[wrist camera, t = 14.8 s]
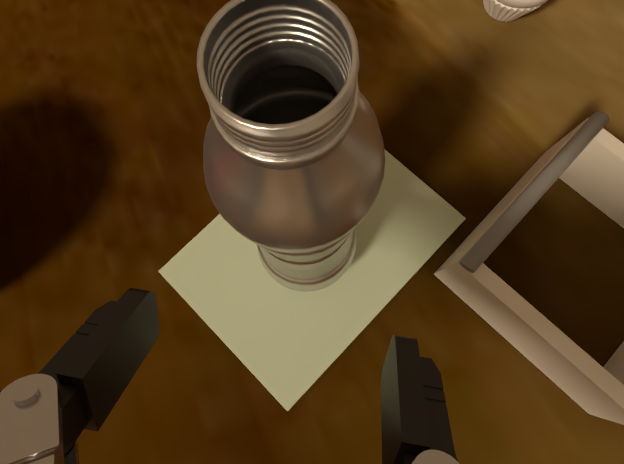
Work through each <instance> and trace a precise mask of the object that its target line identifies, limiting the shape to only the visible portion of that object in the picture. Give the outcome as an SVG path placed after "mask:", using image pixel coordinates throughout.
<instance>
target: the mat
mask: <svg viewBox="0 0 624 464" xmlns="http://www.w3.org/2000/svg"><path fill="white" fill-rule="evenodd" d="M384 151H385V169H384V177H383V181H382V184H381V187H380V190H379V193H378V195H377V197H376V199H375V201H374V202H373V204H372V206H371V208H370V210H369V211H368V213H367V214H366V216H365V217H364V218H363V220H362V221H361V222H360V223H359V224H358V225H357V227H356V228H355V229H356V239H357V243H356V251H355V254H354V258H353V261H352V263H351V264H350V266H349V268H348V270H347V271H346V272H345V273H344V274H343V276H342V277H341V278H340V279H338V280H337V281H336V282H335V283H333V284H332V285H330V286H328V287H326V288H323V289H320V290H316V291H307V292H303V291H296V290H292V289H289V288H287V287H284V286H283V285H281V284H279V283H278V282H276V281H275V280H274V279H273V278H272V277H271V276H270V275H269V274H268V273H267V271H266V270H265V268H264V267H263V265H262V263H261V260H260V258H259V254H258V249H257V245H256V244H255V243H253V242H251V241H250V240H248V239H247V238H245V237H243V236H242V235H241V234H240V233H239V232H237V231H236V230H235V229H234V228H233V227H232V226H231V225H230V224H229V223H228V222H227V221H225V220H224V219H223V217H222V216H221V214H219V215H218V216H217V217H216V218H215V219H214V220H213V221H212V222H211V223H209V224H208V225H207V226H206V227H205V228H204V229H203V230H202V231H201V232H200V233H199V234H198V235H197V236H196V237H194V238H193V239H192V240H191V241H190V242H189V243H188V244H187V245H186V246H185V247H184V248H183V249H182V250H181V251H179V252H178V253H177V254H176V255H175V256H174V257H173V258H172V259H171V260H170V261H169V262H168V263H167V264H166V265H165V266H163V267H162V268H161V269H160V270H159V271H158V272H159V273H160V274H161V275H162V276H163V277H164V278H165V279H166V280H167V281H168V282H169V284H170V285H171V286H172V287H173V288H174V289H175V290H176V291H177V292H178V293H179V294H180V295H181V297H182V298H183V299H184V300H185V301H186V302H187V303H188V304H189V305H190V306H191V307H192V308H193V310H194V311H195V312H196V313H197V314H198V315H199V316H200V317H201V318H202V319H203V320H204V321H205V323H206V324H207V325H208V326H209V327H210V328H211V329H212V330H213V331H214V332H215V333H216V335H217V336H218V337H219V338H220V339H221V340H222V341H223V342H224V343H225V344H226V345H227V346H228V348H229V349H230V350H231V351H232V352H233V353H234V354H235V355H236V356H237V357H238V358H239V359H240V361H241V362H242V363H243V364H244V365H245V366H246V367H247V368H248V369H249V370H250V371H251V372H252V374H253V375H254V376H255V377H256V378H257V379H258V380H259V381H260V382H261V383H262V384H263V385H264V387H265V388H266V389H267V390H268V391H269V392H270V393H271V394H272V395H273V396H274V397H275V399H276V400H277V401H278V402H279V403H280V404H281V405H282V406H283V407H284V408H285V409H286V410H287V411H288V410H289V409H290V408H291V407H292V406H293V405H294V404H295V403H296V402H297V401H298V399H299V398H300V397H301V396H302V395H303V394H304V393H305V392H306V391H307V390H308V389H309V388H310V387H311V385H312V384H313V383H314V382H315V381H316V380H317V379H318V378H319V377H320V376H321V375H322V374H323V372H324V371H325V370H326V369H327V368H328V367H329V366H330V365H331V364H332V363H333V362H334V361H335V359H336V358H337V357H338V356H339V355H340V354H341V353H342V352H343V351H344V350H345V349H346V348H347V347H348V345H349V344H350V343H351V342H352V341H353V340H354V339H355V338H356V337H357V336H358V335H359V334H360V332H361V331H362V330H363V329H364V328H365V327H366V326H367V325H368V324H369V323H370V322H371V321H372V319H373V318H374V317H375V316H376V315H377V314H378V313H379V312H380V311H381V310H382V309H383V308H384V306H385V305H386V304H387V303H388V302H389V301H390V300H391V299H392V298H393V297H394V296H395V295H396V294H397V292H398V291H399V290H400V289H401V288H402V287H403V286H404V285H405V284H406V283H407V282H408V281H409V279H410V278H411V277H412V276H413V275H414V274H415V273H416V272H417V271H418V270H419V269H420V268H421V266H422V265H423V264H424V263H425V262H426V261H427V260H428V259H429V258H430V257H431V256H432V255H433V253H434V252H435V251H436V250H437V249H438V248H439V247H440V246H441V245H442V244H443V243H444V242H445V241H446V239H447V238H448V237H449V236H450V235H451V234H452V233H453V232H454V231H455V230H456V229H457V228H458V226H459V225H460V224H461V223H462V222H463V221H464V220H465V219H466V218H465V217H464V216H463V215H461V214H460V213H459V212H458V211H457V210H456V209H454V208H453V207H452V206H451V205H450V204H449V203H447V202H446V201H445V200H444V199H443V198H441V197H440V196H439V195H438V194H437V193H436V192H434V191H433V190H432V189H431V188H430V187H429V186H427V185H426V184H425V183H424V182H423V181H421V180H420V179H419V178H418V177H417V176H416V175H414V174H413V173H412V172H411V171H410V170H409V169H407V168H406V167H405V166H404V165H403V164H401V163H400V162H399V161H398V160H397V159H396V158H394V157H393V156H392V155H391V154H390V153H389V152H387V151H386V150H385V149H384Z"/></svg>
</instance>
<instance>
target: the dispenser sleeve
mask: <svg viewBox="0 0 624 464" xmlns="http://www.w3.org/2000/svg"><path fill="white" fill-rule="evenodd" d="M608 122H609V117H608V115H607V114H605V113H603V112H595V113H593V114H592V115H591V116H590V118H587V119H586V120H584V121H583V122H582V123H581V124H579V125H578V126H577V127H576V128H574V129H573V130H572V131H571V132H569V133H568V134H567V135H566V136H564V137H563V138H562V139H561V140H559V141H558V142H557V143H556V144H554V145H553V146H552V147H551V148H549V149H548V150H547V151H546V152H545V153H544V154H543V155H542V156H541V157H540V158H539V159H538V160H537V161H536V162H535V164H534V165H533V166H532V167H531V168H530V169H529V170H528V171H527V172H526V173H525V174H524V176H523V177H522V178H521V179H520V180H519V181H518V182H517V183H516V184H515V185H514V187H513V188H512V189H511V190H510V191H509V192H508V193H507V194H506V195H505V196H504V197H503V199H502V200H501V201H500V202H499V203H498V204H497V205H496V206H495V207H494V208H493V210H492V211H491V212H490V213H489V214H488V215H487V216H486V217H485V218H484V219H483V220H482V222H481V223H480V224H479V225H478V226H477V227H476V228H475V229H474V230H473V231H472V232H471V234H470V235H469V236H468V237H467V238H466V239H465V240H464V241H463V242H462V243H461V245H460V246H459V247H458V248H457V249H456V250H455V251H454V252H453V253H452V254H451V255H450V257H449V258H448V259H447V260H446V261H445V262H444V263H443V264H442V265H441V266H440V267H439V269H438V270H437V271H436V272H435V273H434V275H435V276H436V277H437V278H438V279H440V280H441V281H442V282H443V283H444V284H445V285H446V286H447V287H448V288H450V289H451V290H452V291H453V292H454V293H455V294H456V295H457V296H458V297H460V298H461V299H462V300H463V301H464V302H465V303H466V304H467V305H468V306H470V307H471V308H472V309H473V310H474V311H475V312H476V313H477V314H478V315H479V316H481V317H482V318H483V319H484V320H485V321H486V322H487V323H488V324H489V325H491V326H492V327H493V328H494V329H495V330H496V331H497V332H498V333H499V334H501V335H502V336H503V337H504V338H505V339H506V340H507V341H508V342H509V343H511V344H512V345H513V346H514V347H515V348H516V349H517V350H518V351H519V352H521V353H522V354H523V355H524V356H525V357H526V358H527V359H528V360H529V361H531V362H532V363H533V364H534V365H535V366H536V367H537V368H538V369H539V370H541V371H542V372H543V373H544V374H545V375H546V376H547V377H548V378H549V379H550V380H552V381H553V382H554V383H555V384H556V385H557V386H558V387H559V388H560V389H562V390H563V391H564V392H565V393H566V394H567V395H568V396H569V397H570V398H572V399H573V400H574V401H575V402H576V403H577V404H578V405H579V406H580V407H582V408H583V409H584V410H585V411H586V412H587V413H588V414H590V415H594V416H597V417H600V418H603V419H606V420H609V421H613V422H616V423H619V424H622V425H624V341H623V342H622V344H621V345H620V346H619V347H618V349H617V350H616V351H615V353H614V354H613V355H612V356H611V358H610V359H609V360H608V362H607V363H606V364H605V365H604V367H602V366H601V365H600V364H599V363H598V362H596V361H595V360H594V359H593V358H592V357H591V356H589V355H588V354H587V353H586V352H585V351H584V350H583V349H581V348H580V347H579V346H578V345H577V344H576V343H574V342H573V341H572V340H571V339H570V338H569V337H568V336H566V335H565V334H564V333H563V332H562V331H561V330H560V329H558V328H557V327H556V326H555V325H554V324H553V323H551V322H550V321H549V320H548V319H547V318H546V317H545V316H543V315H542V314H541V313H540V312H539V311H538V310H536V309H535V308H534V307H533V306H532V305H531V304H530V303H528V302H527V301H526V300H525V299H524V298H523V297H521V296H520V295H519V294H518V293H517V292H516V291H515V290H513V289H512V288H511V287H510V286H509V285H508V284H507V283H505V282H504V281H503V280H502V279H501V278H500V277H498V276H497V275H496V274H495V273H494V272H493V271H492V270H490V269H489V268H488V267H487V266H486V265H485V264H483V262H484V261H485V260H486V259H487V258H488V257H489V255H490V254H491V253H492V252H493V251H494V250H495V249H496V248H497V246H498V245H499V244H500V243H501V242H502V241H503V240H504V239H505V237H506V236H507V235H508V234H509V233H510V232H511V231H512V230H513V228H514V227H515V226H516V225H517V224H518V223H519V222H520V221H521V220H522V218H523V217H524V216H525V215H526V214H527V213H528V212H529V211H530V209H531V208H532V207H533V206H534V205H535V204H536V203H537V202H538V200H539V199H540V198H541V197H542V196H543V195H544V194H545V193H546V191H547V190H548V189H549V188H550V187H551V186H552V185H553V184H554V183H555V181H556V180H557V179H558V178H560V179H561V180H562V181H563V182H565V183H566V184H567V185H568V186H570V187H571V188H572V189H574V190H575V191H576V192H577V193H579V194H580V195H581V196H583V197H584V198H585V199H586V200H588V201H589V202H590V203H592V204H593V205H594V206H595V207H597V208H598V209H599V210H601V211H602V212H603V213H604V214H606V215H607V216H608V217H609V218H611V219H612V220H613V221H615V222H616V223H617V224H618V225H620V226H621V227H622V228H624V143H622V142H621V141H620V140H618V139H617V138H616V137H614V136H613V135H612V134H610V133H609V132H607V131H606V130H605V129H603V128H604V126H605V125H606V124H607V123H608Z"/></svg>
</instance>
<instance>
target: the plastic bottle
mask: <svg viewBox="0 0 624 464" xmlns="http://www.w3.org/2000/svg"><path fill="white" fill-rule="evenodd" d="M358 69H359V52H358V44H357V39H356V36H355V33H354V30H353V27H352V26H351V24H350V22H349V21H348V19H347V17H346V16H345V15H344V13H343V12H342V11H341V10H340V9H339V8H338V7H337V6H336V5H335V4H334V3H332V2H331V1H330V0H231V1H230V2H228V3H227V4H225V5H224V6H223V7H222V8H221V9H220V10H219V11H218V12H217V13H216V14H215V15H214V16H213V18H212V19H211V20H210V22H209V23H208V24H207V26H206V28H205V30H204V32H203V34H202V36H201V39H200V43H199V47H198V51H197V70H198V75H199V80H200V85H201V88H202V91H203V93H204V95H205V97H206V100H207V102H208V103H209V108H210V113H211V119H210V121H209V123H208V125H207V129H206V134H205V138H204V146H203V166H204V176H205V181H206V186H207V190H208V192H209V194H210V197H211V199H212V202H213V204H214V206H215V207H216V208H217V210H218V211H219V213H220V214H221V216H222V217H223V219H224V220H225V221H227V222H228V223H229V224H230V225H231V226H232V227H233V228H234V229H235V230H236V231H237V232H239V233H240V234H241V235H242V236H243V237H245V238H247V239H248V240H250V241H251V242H253V243H255V244H256V245H257V249H258V254H259V258H260V260H261V263H262V265H263V267H264V268H265V270H266V271H267V273H268V274H269V275H270V276H271V277H272V278H273V279H274V280H275V281H276V282H278V283H279V284H281V285H283V286H284V287H287V288H289V289H292V290H296V291H303V292H307V291H316V290H320V289H323V288H326V287H328V286H330V285H332V284H333V283H335V282H336V281H337V280H338V279H340V278H341V277H342V276H343V274H344V273H345V272H346V271H347V270H348V268H349V266H350V264H351V263H352V261H353V258H354V254H355V251H356V243H357V239H356V229H355V228H356V227H357V225H358V224H359V223H360V222H361V221H362V220H363V218H364V217H365V216H366V214H367V213H368V211H369V210H370V208H371V206H372V204H373V202H374V201H375V199H376V197H377V195H378V193H379V190H380V187H381V184H382V181H383V177H384V169H385V151H384V142H383V138H382V135H381V131H380V128H379V125H378V122H377V118H376V115H375V113H374V112H373V110H372V108H371V106H370V104H369V103H368V101H367V100H366V98H365V97H364V96H363V95H362V94H361V93H360V92H359V88H358V78H357V77H358Z"/></svg>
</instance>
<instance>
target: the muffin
mask: <svg viewBox="0 0 624 464" xmlns="http://www.w3.org/2000/svg"><path fill="white" fill-rule="evenodd" d="M546 1H548V0H483V3H484V8H485V10H486V12H487V13H488V14H489V16H491V17H492V18H494V19H495V20H498V21H502V22H503V21H505V22H507V21H512V20H515V19H517V18H519V17H521V16H523V15H525V14H527V13H529V12H531V11H533V10H535V9H537V8H539V7H540V6H541V5H542V4H544V3H545V2H546Z"/></svg>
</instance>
